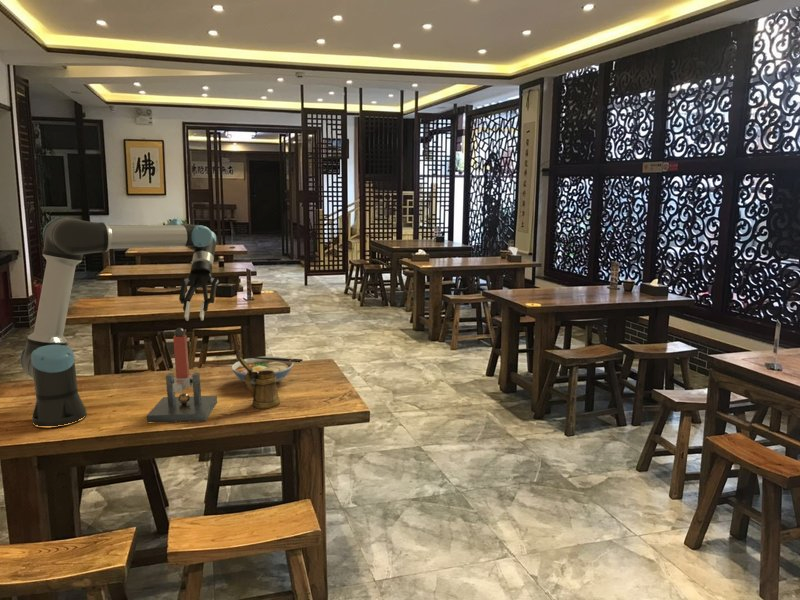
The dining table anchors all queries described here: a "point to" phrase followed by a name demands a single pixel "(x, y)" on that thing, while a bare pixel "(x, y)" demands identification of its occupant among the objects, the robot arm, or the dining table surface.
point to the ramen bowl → (265, 366)
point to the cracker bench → (182, 404)
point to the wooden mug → (261, 386)
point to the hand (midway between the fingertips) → (193, 318)
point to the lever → (181, 361)
